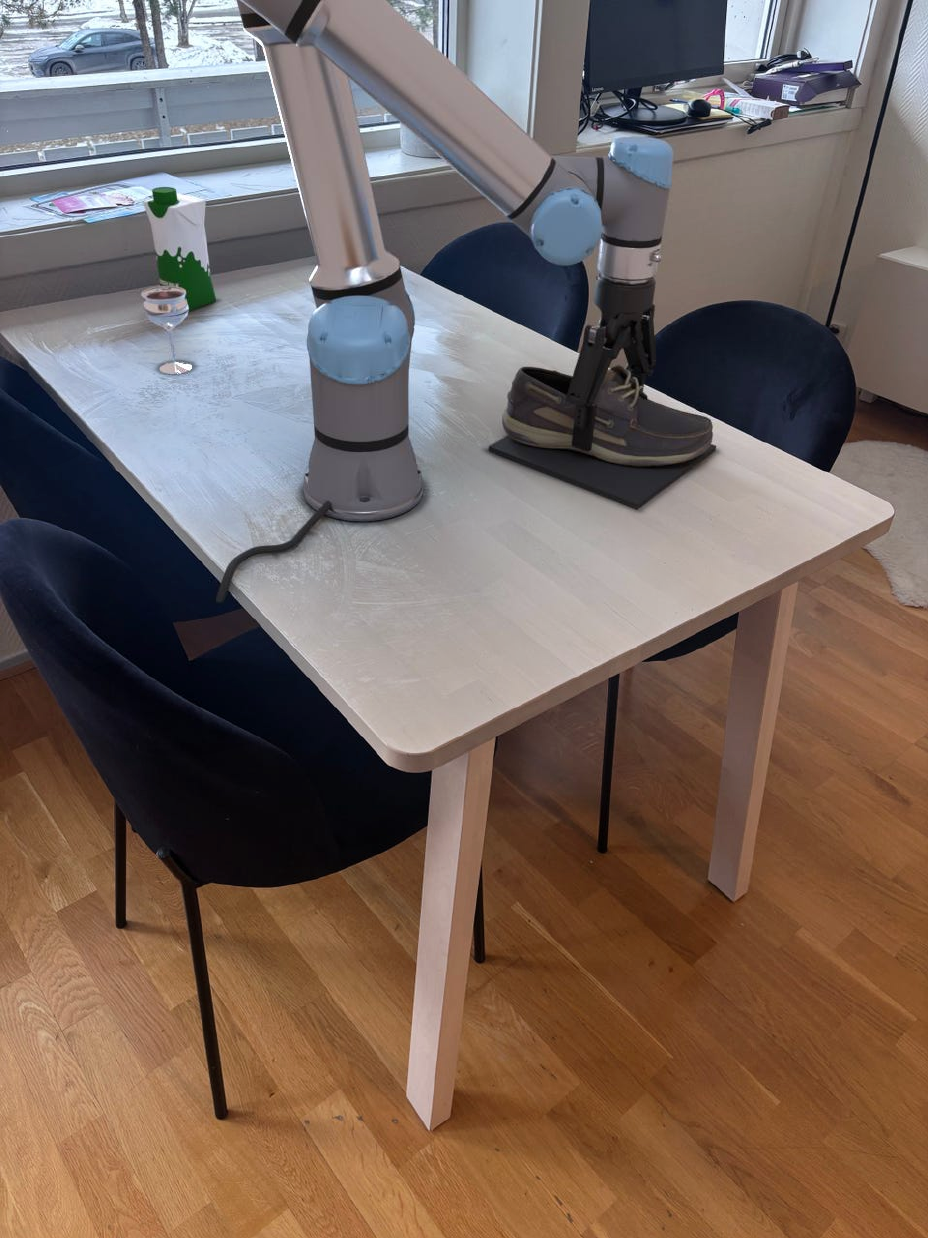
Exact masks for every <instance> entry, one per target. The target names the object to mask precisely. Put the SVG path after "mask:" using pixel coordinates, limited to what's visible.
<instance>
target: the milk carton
mask: <svg viewBox="0 0 928 1238" xmlns="http://www.w3.org/2000/svg"><path fill="white" fill-rule="evenodd" d="M151 193H152V198H149V199H145V200H142V204H143V207H144V210H145V213H146V215H147V218H148V220H149V224H150V227H151V233H152V240H153V246H154V252H155V259H156V265H157V266H156V267H157V272H158V281H159V286H175V287H180V288H183V289H184V290H186V294H185V298H186V300H187V302H188V307H189V309H188V312H190V311H193V310H195V309H198V308H200V307H203V306H206V305H209V304H211V303H213V302H216V301H217V298H216V294H215V289H214V283H213V279H212V275H211V268H210V259H209V253H208V244H207V236H206V229H205V227H206V226H205V218H206V217H205V216H206V206H207V205H206V204H207V199H205V198H200V197H195V196H192V195H187V194H182V193H178V192H177V189H176V188H175V187H171V186H159V187H155V188H152V189H151Z"/></svg>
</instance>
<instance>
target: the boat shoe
mask: <svg viewBox="0 0 928 1238" xmlns="http://www.w3.org/2000/svg"><path fill="white" fill-rule="evenodd" d="M630 372H631V370H630V369H625V368H624V367H623V366H622V365H619V364H616V365H614V366H612V367H611V368H608V371H607V373H606V375H605V377H604V380H603V382H602V384H601V387H600V389H599V391H598V393H597V396H596V398H595V400H594V403H593V404H596V405H597V407H596V415H595V424H594V432H593V440H592V448H591V450H590V451H589V452H588V451H585V450H582V449H580V448H577V447H574V446H572V436H573V427H574V417H575V408H576V405H575V404H572V403H569V402H567V401H566V396H567V393H568V390H569V387H570V383H571V380H572V377H573V375H569V374H566V373H562V372H560V371H557V370H552V369H546V368H543V367H536V366H522V367H520V368H519V369H518V370H517V372H516V374H515V376H514V379H513V381H512V382H511V387H510V390H509V391H508V392H507V394H506V397H507V406H506V408H505V409H504V411H503V413H502V415H501V416H502V417H501V423H502V428H503V430H504V432H505V433H506V436H509V437H510V438H511V439H513V440H515V441H517V442H520V443H522V444H526V445H530V446H535V447H541V448H553V449H570V450H575V451H579V452H583V453H586V454H589V455H594V456H595V457H597V458H599V459H602V460H604V461H607V462H611V463H616V464H620V465H627V466H629V465H631V466H653V465H654V466H660V465H669V464H675V463H680V462H684V461H687V460H690V459H693V458H695V457H697V456H699V455H700V454H702V453H704V452H705V451H706V450H707V449H708V448H709V446H710V445H711V444H712V442H713V436H714V432H713V429H714V426H713V422H712V419H711V418H709V417H707V416H705V415H700V414H697V413H692V412H687V411H682V410H679V409H677V408H672V407H670V406H666V405H665V404H661V403H659V402H656V401H653V400H652V399H649V398H648V397H649V396H648V395H647V394H646V393H645V392H644V388H643V386H639V384H638V380H637V378H636V377H632V378H631V373H630ZM642 389H643V391H642Z"/></svg>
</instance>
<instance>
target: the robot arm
mask: <svg viewBox="0 0 928 1238" xmlns="http://www.w3.org/2000/svg"><path fill="white" fill-rule="evenodd" d="M236 4H237V8H238V11H239V15H240V19H241V23H242V28H243V31H244V32H245V33H246V34H248V35H249V36H251V37H252V38H253V39H254V40H256V41H257V42H258V43H259V45H261V46H262V50H263V53H264V56H265V61H266V65H267V68H268V73H269V76H270V81H271V85H272V88H273V93H274V97H275V101H276V104H277V108H278V112H279V116H280V120H281V124H282V128H283V132H284V136H285V140H286V144H287V147H288V148H287V149H288V152H289V155H290V156H289V157H290V160H291V165H292V167H293V171H294V175H295V179H296V183H297V188H298V191H299V195H300V200H301V204H302V207H303V212H304V215H305V220H306V223H307V228H308V231H309V235H310V239H311V244H312V246H313V247H312V248H313V251H314V256H315V258H316V262H317V265H316V267H315V268H314V270H313V272H312V274H311V275H310V277H309V284H310V288H311V292H312V296H313V300H314V305H315V310H314V311H313V313H312V314H311V315H310V317H309V320H308V321H309V322H308V326H307V335H306V336H307V337H306V350H307V353H308V357H309V370H310V371H309V372H310V373H309V374H310V385H311V386H310V387H311V401H312V415H313V428H314V429H313V430H314V439H313V444H312V447H311V451H310V454H309V459H308V466H307V467H306V469H305V472H304V475H303V495H304V498H305V501H306V502H307V503H308V505H309V506H310V507H311V508H312V509H313V510H315V512H314V513H313V515H312V516H311V517H310V518H309V519H308V520H307V521H306V523H304V524H303V526H302V527H301V528H300V529H299V530H298V531H297V532H296V533H295V534H294V536H293V537H292V538H291V539H290V540H288V541H286V542H282V543H278V544H269V545H267V544H266V545H258V546H254V547H250V548H249V549H246V550H245V551H243V552H241V553H240V554H238V555H237V556H235V557H234V558H233V559H232V560H230V562H229V564H228V565H227V566H226V569H225V571H224V574H223V576H222V579H221V583H220V585H219V588H218V591H217V593H216V594H217V595H216V597H215V601H216V603H222V602H224V601H225V600H226V598H227V594H228V591H229V588H230V585H231V583H232V580H233V576H234V574H235V572H236V570H237V569H238V567H239V566H240V565H241V564H242V563H244V562H246V561H247V560H249V559H251V558H254V557H255V556H258V555H265V554H278V553H283V552H287V551H290V550H292V549H293V548H295V547H296V546H297V545H299V544H300V542H302V540H303V539H304V537H305V536H306V535H307V534H308V533H309V532H310V531H311V530H312V529H313V528H314V527H315V525H316V524H317V523H318V522H319V521H320V520H321V519H322V518H323V517H324V515H325V516H327V517H329V518H333V519H338V520H342V521H343V520H344V521H348V522H349V521H350V522H374V521H381V520H386V519H391V518H395V517H398V516H400V515H402V514H405V513H406V512H409V511H410V510H412V509H413V508H414V507H416V505H418V504H419V502H420V501H421V499H422V497H423V494H424V493H423V492H424V480H423V474H422V471H421V468H420V466H419V464H418V463H417V458H416V455H415V451H414V448H413V445H412V442H411V439H410V434H409V433H410V432H409V431H410V429H409V428H410V427H409V423H410V422H409V421H410V420H409V419H410V418H409V415H410V413H409V403H410V402H409V401H410V400H409V392H410V391H409V386H410V385H409V382H410V381H409V378H410V375H409V374H410V363H411V361H410V360H411V352H412V343H413V337H414V332H415V325H416V316H415V310H414V305H413V302H412V300H411V298H410V294H408V292H407V289H406V286H405V282H404V281H405V280H404V277H403V272H402V267H401V263H400V260H399V259H398V257H396V256H395V255H393V254H391V253H390V252H389V251H388V250H387V249H386V248H385V244H384V240H383V234H382V230H381V224H380V221H379V215H378V211H377V205H376V201H375V196H374V192H373V187H372V182H371V177H370V173H369V172H370V171H369V167H368V162H367V159H366V153H365V148H364V144H363V138H362V134H361V129H360V125H359V124H360V123H359V120H358V119H359V118H358V115H357V110H356V106H355V105H356V104H355V100H354V96H353V91H352V86H351V82H350V80H351V81H353V83H355V85H356V86H358V87H359V88H361V89H362V90H363V91H364V92H365V93H366V94H367V95H368V96H369V97H371V99H373V100H374V101H375V102H376V103H378V104H379V105H380V106H381V107H382V108H383V109H384V110H385V111H387V113H389V114H390V115H391V116H392V117H393V118H395V119H396V121H398V122H399V123H400V124H401V125H402V126H403V127H405V128H406V129H407V130H408V131H409V132H411V134H413V135H414V136H415V137H416V138H417V139H418V140H420V142H422V144H424V145H425V146H427V148H429V150H431V151H432V152H433V153H434V154H435V155H436V156H438V157H439V158H440V159H441V160H442V161H443V162H445V164H447V165H448V166H449V167H450V168H451V169H452V170H453V171H455V172H456V173H457V174H458V175H460V177H462V178H463V179H464V180H465V181H466V182H467V183H469V184H470V185H471V186H472V187H473V188H474V189H475V190H477V191H478V192H479V193H480V194H481V195H482V196H483V197H484V198H486V199H487V200H488V201H489V202H490V203H492V205H493V206H495V208H497V209H498V210H499V211H500V212H502V213H503V214H504V215H505V216H506V218H507V220H508V221H509V222H510V223H513V224H514V225H515V226H516V227H517V228H518V229H519V230H520V231H521V232H523V233H524V234H525V235H526V236H528V237H529V239H530V240H531V243H532V246H534V249H535V250H536V251H537V252H538V254H539V255H540V256H541V257H542V258H543V259H544V260H546V261H547V262H549V263H551V264H553V265H557V266H573V265H576V264H578V263H581V262H583V261H584V260H586V259H587V258H588V257H589V256H591V254H593V253H594V251H595V250H596V248H597V247H598V244H599V250H598V256H597V258H598V259H597V264H596V270H597V271H598V274H596V277H595V285H594V292H593V303H594V305H595V306H596V307H597V308H598V309H599V311H600V313H601V314H600V316H599V317H600V318H599V320H598V323H597V325H591V324H587V325H585V327H584V332H583V339H582V345H581V347H580V351H579V354H578V356H577V357H578V358H577V361H576V364H575V367H574V370H573V373H572V376H573V377H572V380H571V383H570V387H569V390H568V393H567V396H566V401H567V402H569V403H572V404H575V405H576V408H575V417H574V427H573V436H572V446H574V447H577V448H580V449H582V450H585V451H588V452H589V451H590V450H591V448H592V440H593V432H594V424H595V415H596V407H597V405H596V404H593V403H594V400H595V398H596V396H597V393H598V391H599V389H600V387H601V384H602V382H603V380H604V377H605V375H606V373H607V371H608V370H609V369H610V366H611V364H612V361H613V360H616V359H617V358H618V356H619V354H620V352H621V350H623V353H624V355H625V359H626V362H627V365H628V368H629V371H630V373H631V378H632V377H636V378H637V380H638V384H639V386H643V389H642V391H643V392H644V387H645V380H646V376H648V377H651V376H652V375H653V374H654V372H655V368H654V367H655V365H656V363H657V352H656V351H657V349H656V338H655V336H656V335H655V324H654V323H655V322H654V319H655V318H654V317H655V309H656V305H655V304H654V303H653V302H654V298H655V297H654V296H655V292H656V291H655V290H656V285H657V280H656V278H655V276H656V275H657V273H658V267H659V263H660V262H661V260H662V255H661V248H662V241H663V234H664V233H663V232H664V227H665V221H666V216H667V215H666V214H667V208H668V202H669V196H670V191H671V189H672V174H673V165H674V163H673V162H674V149H673V147H672V146H671V145H670V143H668V142H667V141H665V140H663V139H659V138H656V137H649V136H637V135H636V136H635V135H634V136H633V135H632V136H621V137H618V138H615V139H614V140H613V141H612V142H611V145H610V149H609V151H608V154H607V155H608V156H607V155H605V156H601V157H599V156H598V157H594V156H593V157H592V156H569V155H567V156H566V155H550V153H549V152H547V151H546V150H545V148H543V147H542V146H541V145H540V144H539V143H538V142H537V141H536V140H534V138H532V137H531V135H529V134H528V132H526V131H525V130H524V129H523V128H522V127H521V126H520V125H519V124H518V123H516V121H514V120H513V119H512V117H510V115H508V114H507V113H506V112H505V111H504V110H503V109H502V108H501V107H500V106H498V104H496V103H495V101H493V99H491V98H490V97H489V96H488V95H487V94H486V93H485V92H484V91H483V90H482V89H481V88H479V86H477V85H476V84H475V83H474V82H473V81H472V80H471V79H470V78H469V77H468V76H467V75H466V74H465V73H464V72H462V70H460V69H459V68H458V67H457V65H455V64H454V63H453V62H452V61H451V60H450V59H449V58H448V57H447V56H446V55H445V54H443V52H441V50H439V49H438V48H437V47H436V46H435V45H434V44H433V43H432V42H431V41H430V40H429V39H428V38H427V37H425V36H424V35H423V34H422V33H421V32H420V31H419V30H418V29H417V28H416V27H415V26H414V25H413V24H412V23H410V21H408V20H407V18H405V16H403V14H401V13H400V12H399V11H398V10H397V9H396V8H395V7H394V6H393V5H391V3H389V2H388V1H387V0H236Z"/></svg>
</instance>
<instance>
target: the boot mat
mask: <svg viewBox="0 0 928 1238" xmlns="http://www.w3.org/2000/svg"><path fill="white" fill-rule="evenodd" d="M716 450H717V445H715V444H712V443H711V445H710V446H709V448H708V449H707V450H706V451H705V452H704V453H702V454H700V455H699V456H697V457H695V458H693V459H690V460H687V461H684V462H680V463H675V464H669V465H660V466H654V465H653V466H631V465H629V466H627V465H620V464H616V463H611V462H607V461H604V460H602V459H599V458H597V457H595V456H594V455H589V454H586V453H583V452H579V451H575V450H570V449H553V448H541V447H535V446H530V445H526V444H522V443H520V442H517V441H515V440H513V439H511V438H510V437H509V436H508V435H506V436H505V437H503V438H501V439H499V440H497V441H495V442H494V443H491V444H490V445H489V446H488V452H490V453H493V454H494V455H498V456H499V457H503V458H505V459H508V460H510V461H513V462H515V463H518V464H520V465H523V466H526V467H527V468H531V469H533V470H536V471H538V472H541V473H543V474H546V475H548V476H550V477H554V478H556V479H558V480H561V481H564V482H566V483H569V484H571V485H574V486H575V487H579V488H581V489H583V490H587V491H589V492H592V493H594V494H596V495H599V496H602V497H604V498H606V499H608V500H609V499H610V500H612V501H615V502H617V503H619V504H621V505H625V506H627V507H629V508H632V509H635V510H638V509H640V508H641V507H643V506H644V505H645V504H647V503H648V502H649V501H650V500H652V499H653V498H654V497H656V496H658V495H659V494H660V493H661V492H662V491H664V490H665V489H667V488H668V487H669V486H670V485H672V484H673V483H675V482H676V481H677V480H678V479H680V478H681V477H682V476H684V475H686V473H688V472H689V471H690V470H692V469H693V468H695V467H696V466H698V464H700V463H701V462H702V461H704V460H705V459H707V458H708V457H709V456H711V455H712V454H714V452H715V451H716Z"/></svg>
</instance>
